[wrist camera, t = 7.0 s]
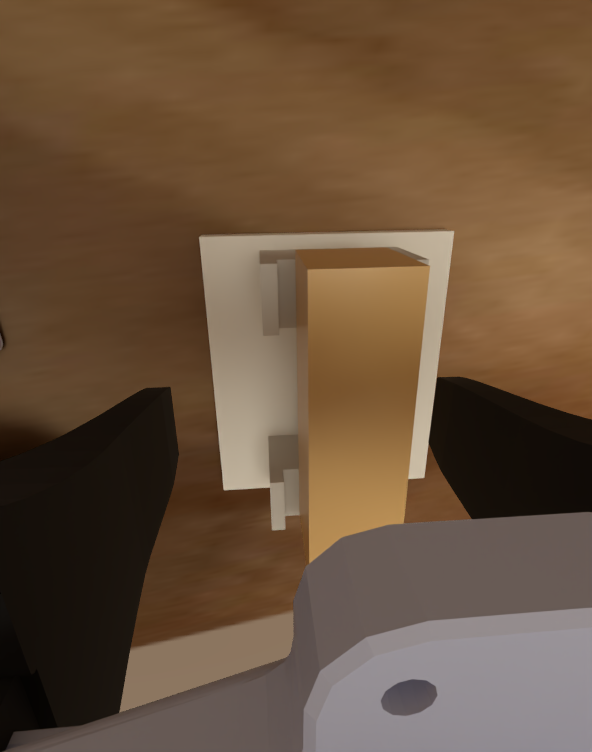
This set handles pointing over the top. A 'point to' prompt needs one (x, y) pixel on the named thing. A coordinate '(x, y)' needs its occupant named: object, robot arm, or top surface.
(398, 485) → the wooden block with panels
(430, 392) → the display stand
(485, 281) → the top surface
